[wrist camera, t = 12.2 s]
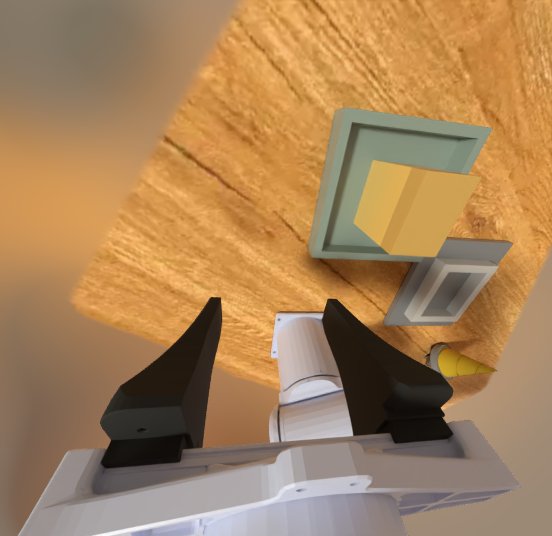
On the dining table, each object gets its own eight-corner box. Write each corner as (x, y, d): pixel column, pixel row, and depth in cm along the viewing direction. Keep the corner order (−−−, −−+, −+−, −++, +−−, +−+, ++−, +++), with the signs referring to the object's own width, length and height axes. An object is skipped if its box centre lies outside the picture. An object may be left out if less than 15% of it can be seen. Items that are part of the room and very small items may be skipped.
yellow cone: (409, 349, 37) (481, 360, 28) (426, 337, 39) (497, 344, 30) (420, 379, 37) (496, 400, 28) (436, 365, 39) (511, 380, 30)
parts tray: (408, 253, 25) (421, 262, 23) (307, 248, 24) (312, 257, 22) (469, 128, 19) (492, 128, 17) (335, 110, 17) (345, 107, 15)
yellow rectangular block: (387, 225, 23) (435, 257, 17) (353, 223, 22) (389, 254, 16) (412, 164, 20) (482, 176, 14) (373, 159, 19) (427, 170, 13)
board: (447, 321, 33) (459, 333, 31) (382, 321, 32) (391, 333, 30) (506, 240, 26) (527, 249, 24) (426, 235, 24) (441, 244, 22)
